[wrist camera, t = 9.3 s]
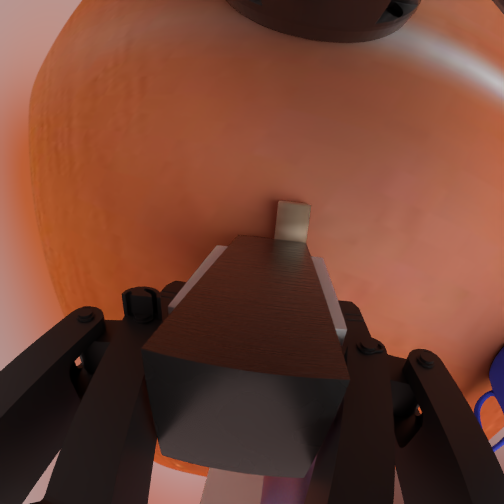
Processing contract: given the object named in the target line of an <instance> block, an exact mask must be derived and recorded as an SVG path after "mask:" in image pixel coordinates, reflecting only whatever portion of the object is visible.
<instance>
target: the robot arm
mask: <svg viewBox="0 0 504 504" xmlns="http://www.w3.org/2000/svg"><path fill="white" fill-rule="evenodd" d="M226 1H227V2H228V3H229V4H230V5H231V6H232V7H233V8H235V9H236V10H237V11H238V12H240V13H241V14H243V15H244V16H246V17H247V18H249V19H251V20H253V21H255V22H257V23H259V24H261V25H263V26H265V27H268V28H271V29H273V30H276V31H279V32H282V33H285V34H289V35H292V36H296V37H301V38H305V39H311V40H317V41H325V42H339V43H351V42H364V41H370V40H375V39H379V38H382V37H385V36H387V35H390V34H391V33H393V32H395V31H397V30H398V29H399V28H401V27H402V26H403V25H404V24H405V23H406V21H407V20H408V19H409V18H410V17H411V16H412V15H413V14H414V13H415V11H416V10H417V8H418V6H419V4H420V2H421V0H226ZM492 1H493V2H494V3H495V4H496V5H497V7H498V8H499V9H500V10H501V12H502V13H503V14H504V0H492ZM227 247H228V246H220V245H216V247H215V248H214V249H213V250H212V252H211V253H210V254H209V255H208V256H207V258H206V259H205V260H204V261H203V263H202V264H201V265H200V266H199V268H198V269H197V270H196V271H195V273H194V274H193V275H192V276H191V278H190V279H189V280H188V281H187V282H181V281H174V282H172V283H170V284H168V285H166V287H165V288H164V289H163V290H162V292H159V291H158V290H156V289H154V288H150V287H135V288H131V289H128V290H126V291H125V292H123V293H122V301H123V308H124V314H125V316H124V318H123V320H104V315H103V312H102V311H101V309H99V308H97V307H91V306H85V307H82V308H78V309H76V310H75V311H73V312H72V313H70V314H69V315H68V316H66V317H65V318H64V319H62V320H61V321H60V322H59V323H57V324H56V325H55V326H54V327H52V328H51V329H50V330H49V331H47V332H46V333H45V334H44V335H42V336H41V337H40V338H39V339H38V340H36V341H35V342H34V343H33V344H31V345H30V346H29V347H28V348H27V349H26V350H24V351H23V352H22V353H21V354H20V355H19V356H17V357H16V358H15V359H14V360H13V361H12V362H11V363H9V364H8V365H7V366H6V367H5V368H4V369H3V370H2V371H0V504H22V503H23V502H24V500H25V499H26V497H27V496H28V494H29V493H30V491H31V490H32V489H33V487H34V486H35V484H36V483H37V481H38V480H39V478H40V477H41V476H42V474H43V473H44V471H45V470H46V469H47V467H48V466H49V464H50V463H51V462H52V460H53V459H54V457H55V456H56V454H57V453H58V452H59V451H60V453H59V456H58V458H57V461H56V464H55V467H54V469H53V472H52V475H51V478H50V481H49V484H48V487H47V490H46V494H45V496H44V498H43V499H42V500H41V501H40V502H35V503H30V504H148V495H149V488H150V481H151V473H152V467H153V460H154V454H155V448H156V442H157V434H156V430H155V425H154V421H153V416H152V412H151V407H150V402H149V397H148V391H147V386H146V380H145V374H144V367H143V360H142V353H141V348H142V347H143V345H144V344H145V343H146V342H147V341H148V339H149V338H150V337H151V336H152V335H153V333H154V332H155V331H156V330H157V329H158V327H159V326H160V325H161V324H162V323H163V321H164V320H165V319H166V318H167V317H168V316H169V314H170V313H171V312H172V311H173V310H174V308H175V307H176V306H177V305H178V304H179V303H180V301H181V300H182V299H183V298H184V297H185V296H186V294H187V293H188V292H189V291H190V290H191V289H192V287H193V286H194V285H195V284H196V283H197V282H198V280H199V279H200V278H201V277H202V276H203V275H204V273H205V272H206V271H207V270H208V269H209V268H210V267H211V265H212V264H213V263H214V262H215V261H216V260H217V258H218V257H219V256H220V255H221V254H222V253H223V252H224V250H225V249H226V248H227ZM311 258H312V261H313V264H314V266H315V269H316V272H317V275H318V278H319V281H320V284H321V287H322V290H323V293H324V296H325V299H326V302H327V305H328V308H329V311H330V314H331V317H332V320H333V323H334V326H335V329H336V333H337V336H338V339H339V342H340V346H341V349H342V352H343V356H344V359H345V363H346V366H347V369H348V373H349V376H350V382H349V385H348V387H347V390H346V392H345V395H344V397H343V400H342V402H341V404H340V407H339V409H338V411H337V414H336V416H335V418H334V420H333V422H332V425H331V427H330V429H329V431H328V433H327V435H326V437H325V439H324V441H323V443H322V445H321V447H320V449H319V451H318V453H317V456H316V461H315V465H314V469H313V473H312V477H311V481H310V484H309V488H308V492H307V495H306V499H305V502H304V504H393V499H394V478H395V467H396V471H397V474H398V479H399V482H400V487H401V490H402V495H403V500H404V504H504V474H503V471H502V469H501V466H500V464H499V462H498V460H497V458H496V455H495V453H494V451H493V449H492V447H491V445H490V443H489V441H488V439H487V437H486V435H485V433H484V431H483V429H482V427H481V426H480V424H479V422H478V420H477V418H476V416H475V415H474V413H473V411H472V409H471V408H470V406H469V404H468V402H467V401H466V399H465V397H464V396H463V394H462V392H461V391H460V389H459V387H458V386H457V384H456V383H455V381H454V379H453V378H452V376H451V375H450V373H449V371H448V370H447V368H446V367H445V365H444V364H443V362H442V361H441V359H440V358H439V357H438V356H437V355H436V354H434V353H432V352H431V351H429V350H425V349H415V350H413V351H411V352H410V353H409V355H408V357H407V359H403V358H399V357H395V356H391V355H388V354H387V351H386V348H385V346H384V345H383V344H382V343H381V342H380V341H378V340H376V339H374V338H371V335H370V333H369V331H368V328H367V326H366V324H365V322H364V319H363V317H362V314H361V312H360V310H359V308H358V307H357V306H356V305H355V304H354V303H353V302H349V301H339V300H338V299H337V296H336V294H335V291H334V288H333V285H332V282H331V279H330V276H329V273H328V271H327V268H326V265H325V262H324V260H323V258H321V257H313V256H311ZM79 356H80V359H81V362H82V363H81V364H80V365H78V366H76V364H75V360H76V359H77V358H78V357H79ZM419 406H420V408H421V411H422V414H420V413H419V411H418V407H419ZM60 449H61V450H60Z"/></svg>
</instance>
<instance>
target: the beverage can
mask: <svg viewBox="0 0 504 504" xmlns="http://www.w3.org/2000/svg"><path fill="white" fill-rule="evenodd" d="M316 456H317V455H316ZM315 461H316V457H315V459H314V461H313V463H312V465H311V466H310V468H309V470H308V472H307V474H306V475H305V477H304V478H288V477H273V476H264V478H263V487H262V495H261V503H260V504H304V502H305V499H306V495H307V492H308V488H309V484H310V481H311V477H312V473H313V469H314V465H315Z"/></svg>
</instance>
